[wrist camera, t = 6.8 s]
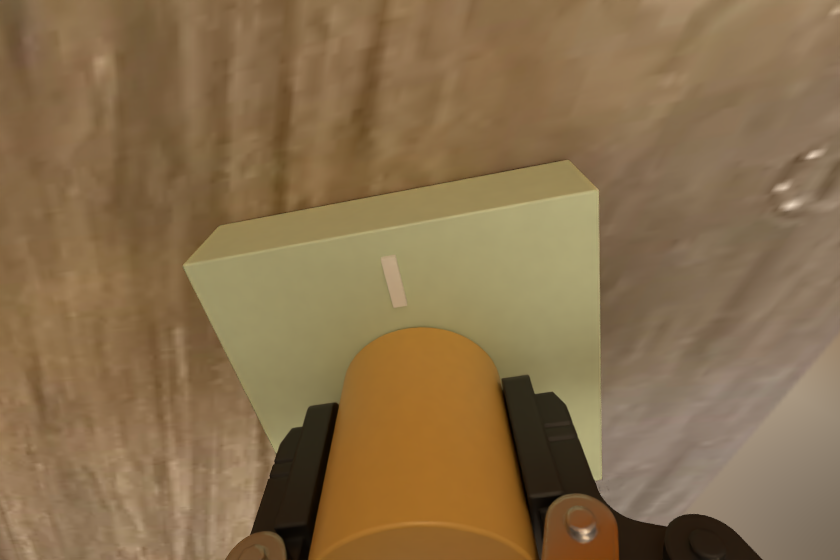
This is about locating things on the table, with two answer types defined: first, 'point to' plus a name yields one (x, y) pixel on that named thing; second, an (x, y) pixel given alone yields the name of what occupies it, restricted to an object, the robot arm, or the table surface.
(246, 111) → the table surface
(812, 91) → the table surface
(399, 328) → the plate
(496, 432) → the lock knob
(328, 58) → the table surface
